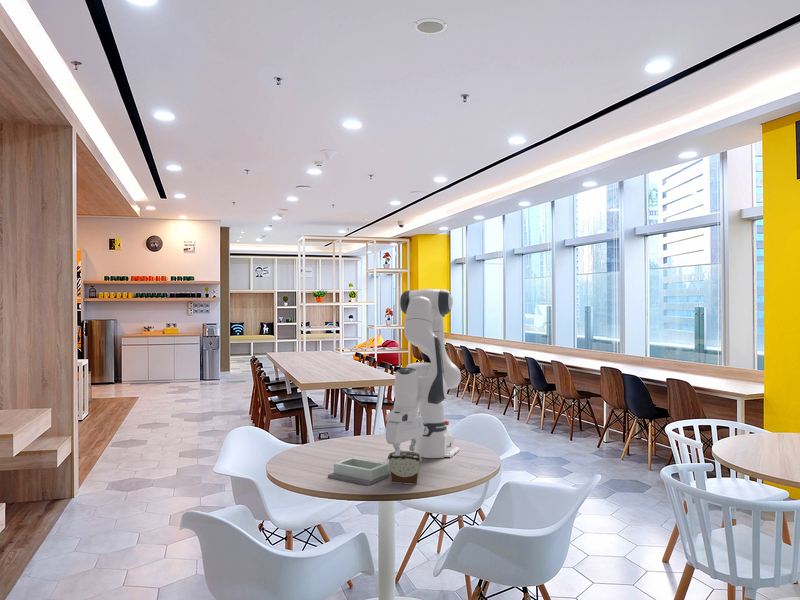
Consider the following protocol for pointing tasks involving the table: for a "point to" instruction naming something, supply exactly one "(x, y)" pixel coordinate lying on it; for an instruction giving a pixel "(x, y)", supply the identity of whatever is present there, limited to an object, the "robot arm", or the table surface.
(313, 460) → the table surface
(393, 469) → the food container
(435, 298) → the robot arm
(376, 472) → the tray
